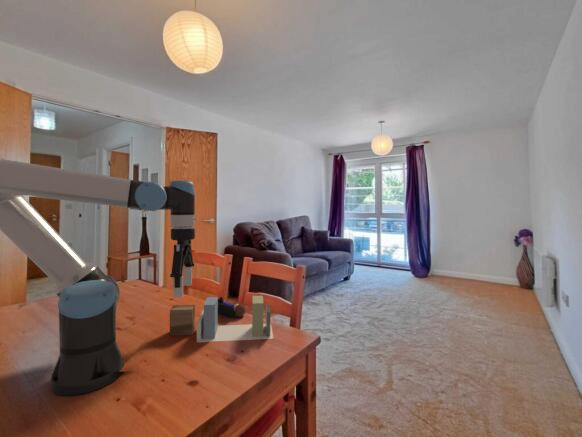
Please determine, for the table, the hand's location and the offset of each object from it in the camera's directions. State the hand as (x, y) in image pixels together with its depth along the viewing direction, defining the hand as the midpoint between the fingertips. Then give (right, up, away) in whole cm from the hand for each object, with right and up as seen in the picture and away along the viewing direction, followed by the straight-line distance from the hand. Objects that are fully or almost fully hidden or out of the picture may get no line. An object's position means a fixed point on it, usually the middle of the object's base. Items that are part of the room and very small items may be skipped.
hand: (183, 291), depth 95 cm
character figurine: (+11, -15, +17) cm, 26 cm away
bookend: (+28, -14, +2) cm, 32 cm away
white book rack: (+18, -16, +1) cm, 24 cm away
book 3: (+25, -14, +2) cm, 28 cm away
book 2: (+9, -14, 0) cm, 17 cm away
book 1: (0, -16, 0) cm, 16 cm away
